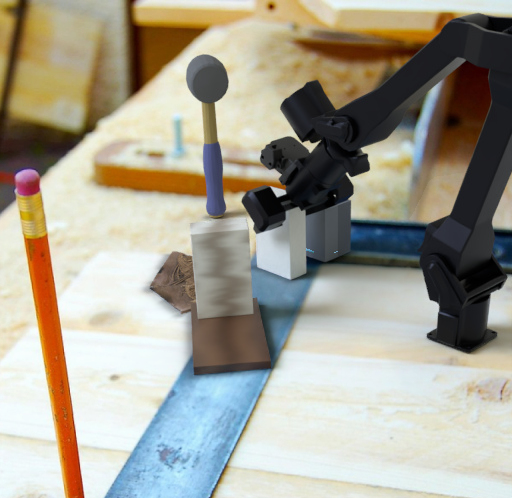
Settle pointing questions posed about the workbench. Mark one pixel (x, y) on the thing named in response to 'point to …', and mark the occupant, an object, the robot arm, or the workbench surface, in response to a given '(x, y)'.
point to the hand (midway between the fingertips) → (274, 224)
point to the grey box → (329, 232)
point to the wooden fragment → (176, 281)
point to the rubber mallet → (210, 124)
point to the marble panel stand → (225, 300)
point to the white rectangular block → (284, 245)
